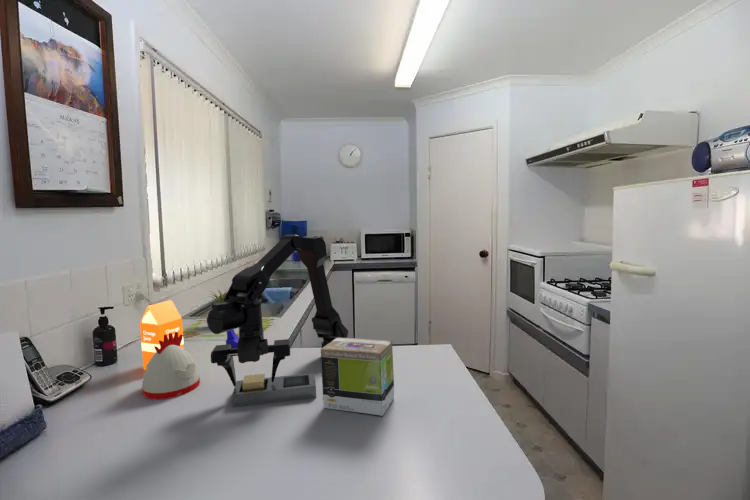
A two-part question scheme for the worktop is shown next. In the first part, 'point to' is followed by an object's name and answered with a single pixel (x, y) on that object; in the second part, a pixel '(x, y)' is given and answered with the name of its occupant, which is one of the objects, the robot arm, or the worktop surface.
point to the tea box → (358, 375)
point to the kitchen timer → (170, 371)
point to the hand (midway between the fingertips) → (254, 383)
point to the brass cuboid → (254, 382)
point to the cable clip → (233, 339)
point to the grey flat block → (277, 390)
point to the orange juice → (158, 327)
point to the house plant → (219, 297)
